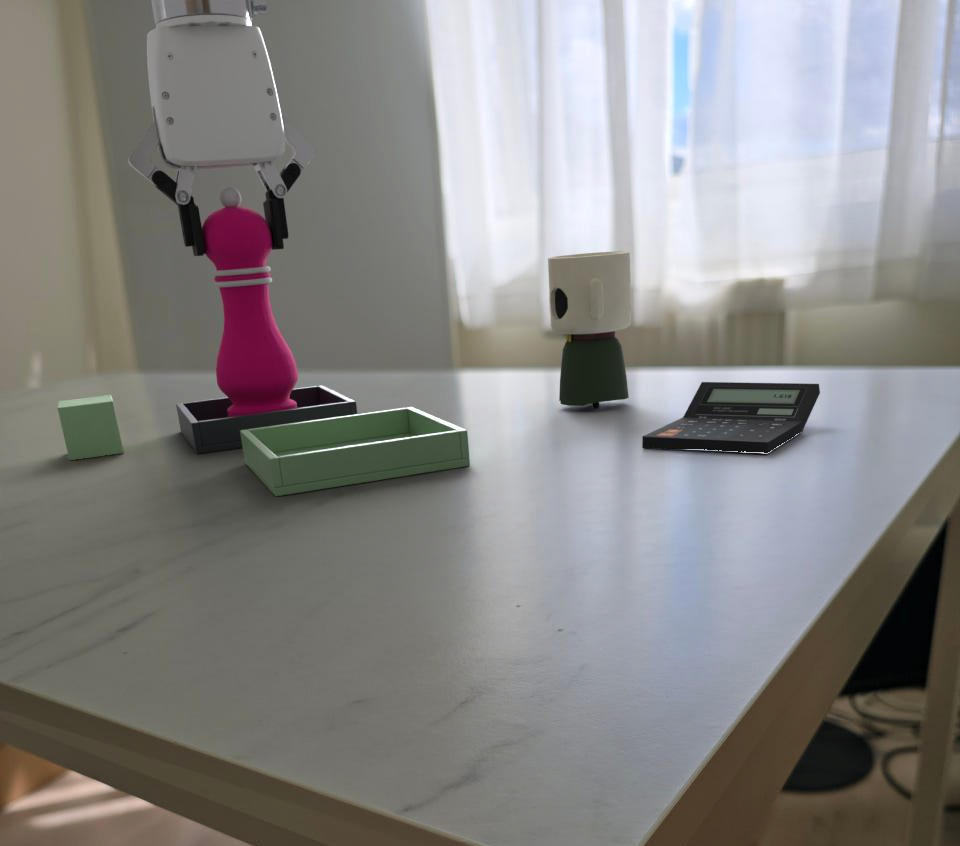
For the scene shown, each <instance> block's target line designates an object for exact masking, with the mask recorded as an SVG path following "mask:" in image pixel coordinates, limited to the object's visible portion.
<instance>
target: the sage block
mask: <svg viewBox="0 0 960 846" xmlns="http://www.w3.org/2000/svg"><path fill="white" fill-rule="evenodd" d="M57 412H58V416H59V420H60V426H61V430H62V434H63V438H64V442H65V448H66V451H67V457H68V460H69V461H70V460H71V461H77V460H76V459H78V460H83V459H84V458H85V459H90V458H91V459H92V458H99V456H100V457H106V456H105V455H107V456H113V455H112V454H114V455H119V454H124V453H125V452H124V448H123V447H124V446H123V442H122V437H121V432H120V428H119V423H118V418H117V413H116V408H115V404H114V400H113V397H112V395H111V394H107V395H99V396H93V397H91V396H90V397H83V398H82V397H81V398H76V399H75V398H74V399H67V400H59V401H57Z"/></svg>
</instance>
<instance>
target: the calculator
mask: <svg viewBox="0 0 960 846" xmlns="http://www.w3.org/2000/svg"><path fill="white" fill-rule="evenodd" d="M820 389H821V388H820V383H798V382H797V383H793V382H791V383H790V382H789V383H788V382H734V381H733V382H728V381H727V382H726V381H725V382H724V381H723V382H722V381H721V382H719V381H718V382H717V381H701V383H700V385H699V386H698V388H697V390H696V392H695V394H694V396H693V398H692V399H691V402H690V403H689V405H688V407H687V409H686V411H685V413H684V414H683V416H682V417H681V418H679V419H677V420H675V421H672V422H670V423H668V424H666V425H664V426H661V427H660V428H658V429H656V430H653V431H651V432H649V433H647V434H644V435H642V437H641V440H642V441H641V442H642V443H641V445H642V449H650V448H657V449H656V450H669V449H704V450H705V449H707V450H718V451H719V450H722V451H738V452H741V451H742V452H744V451H746V452H764V453H768V452H770V451H771V450H773V449H774V448H776V447H777V446H779V445H781V444H782V443H784V442H786V441H787V440H789V439H791V438H792V437H794V436H795V435H796V434H798V433H800V432H801V431H802V432H803V431H804V429H805V427H806V424H807V423H808V421H809V418H810V416H811V414H812V412H813V409H814V407H815V405H816V403H817V400H818V398H819V396H820V394H821V390H820ZM658 448H660V449H658Z"/></svg>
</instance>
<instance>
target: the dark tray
mask: <svg viewBox="0 0 960 846" xmlns="http://www.w3.org/2000/svg"><path fill="white" fill-rule="evenodd" d="M289 399H291V400H294V401H295V402H296V403H297V408H295V409H287V410H280V411H272V412H264V413H257V414H249V415H242V416H234V417H228V411H227V410H228V408H229V407H230V406H232V405H233V402H232V401H231V400H230V399H229V398H228V397H227V396H226V397H218V398H209V399H201V400H194V401H187V402H179V403H178V402H177V403H175V408H176V412H177V416H178V422H179V429H180V432H181V433H182V435H183V436H184V438H185V439H186V440H187V442H188V443H189V445H190V446H191V447H192V449H193V450H194V452H195V453H196V454H197V455H199V454H206V453H213V452H220V451H229V450H234V449H241V448H242V449H243V446H242V440H241V434H240V430H246V429H247V430H248V429H253V428H261V427H268V426H275V425H282V424H290V423H297V422H304V421H312V420H319V419H326V418H334V417H341V416H348V415H356V414H358V407H357V401H355V400H353V399H352V398H350V397H348V396H346V395H344V394H342V393H339V392H337V391H336V390H333V389H332V388H329V387H327V386H325V385H322V384H321V385H313V386H304V387H296V388H293V390H292V391H291V393H290V395H289Z"/></svg>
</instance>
